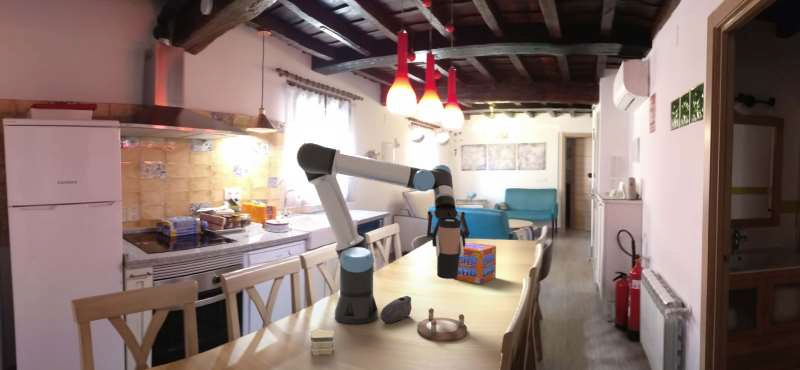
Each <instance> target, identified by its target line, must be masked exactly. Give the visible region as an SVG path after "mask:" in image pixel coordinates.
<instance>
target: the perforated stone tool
mask: <svg viewBox="0 0 800 370" xmlns="http://www.w3.org/2000/svg"><path fill="white" fill-rule="evenodd" d="M411 297H412V296H409V295H405V296H402V297H399V298H395V299H394V300H391V301H390V302H389V303H388V304H386V305H385V306H384V307H383V308H382V310H381V313H380V321H381V322H382V323H385V324H386V323H387V324H390V323H393V322H397V321H400V320H402V319H405V318H407V316H410V315H411V312H412V309H413V308H412V307H413V306H412V298H411Z"/></svg>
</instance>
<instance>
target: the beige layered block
mask: <svg viewBox="0 0 800 370" xmlns="http://www.w3.org/2000/svg"><path fill="white" fill-rule="evenodd" d="M309 332H310V337H309V338H310V343H309V345H310V349H311V350H312V355H313V356H320V355H332V354H333V351H334V347H335V342H334V340H335V335H334V334H335V331H333V330H326V329H313V330H311V331H309Z"/></svg>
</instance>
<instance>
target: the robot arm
mask: <svg viewBox="0 0 800 370" xmlns="http://www.w3.org/2000/svg"><path fill="white" fill-rule="evenodd" d="M296 161H297V165H299V167H300V169H302V171H303V172H304V174H305V177H306V179H307V181H308V183H310V184H311V185H314V187H315V190H316V193H317V196H318V197H319V200H320V203H321V206H322V208H323V211H324V213H325V216H326V218H327V221H328V224H329V226H330V228H331V231H332V234H333V235H334V238H335V241H336V246H335V248H334V249H335V252H336V255H337V257H338V260H339V296H338V297H339V298H338V301H337V302H336V303H337V304H336V306H335V308H334V309H335V310H334V319H335V320H336V321H337V322H339V323H342V324H347V325H362V324H368V323H372V322H374V321H376V319H378V317H379V309H378V305H377V303H376V300H375V295H374V263H375V257H374V253H373V251H371V249H369V247H368V246H367V243H366V239H365V237H364V236H361V235H359V233H358V230H357V228H356V225H355V223H354V220H353V218H352V215H351V213H350V210H349V207H348V204H347V203H346V199H345V197H344V195H343V192H342V190H341V186H340V185H339V181H338V179H337V174H338V175H344V176H350V177H354V178H358V179H364V180H368V181H374V182H378V183H383V184H388V185H394V186H397V187H403V188H407V189H411V190H416V191H419V192H427V191H429V190H430V191H431V190H432V191H433V200H434V211H430V210H429V211H427V215H426V217H427V220H428V221H427V229H426V238H427V239H429V238H430V239H431V242H432V244H431V245H432V247H435V255H436V257H437V256H439V253H440V250H439V239H438V228H439V218H443V217H451V218H457V217H458V218H457V219H459V220H461V225H460V257H463V254H464V250H463V247H465V244H466V243H467V242H466V239H469V236H470V233H471V232H470V230H469V227H468V223H467V221H466V217H465V216H466V215H465V214H466V212H465V211H462V212H458V210H457V208H456V200H455V193H454V184H453V176H452V171H451V169H450V167H449V166H447V165H445V164H439V165H436V166H434V167H433V168H432V169H431V170H430V169H429V170H428V169H425V168H417V167H412V166H408V165H403V164H399V163H394V162H389V161H385V160H381V159H376V158H371V157H367V156H361V155H356V154H352V153H347V152H343V151H340V149H339V148H338V147H333V146H330V145H328V144H325V143H323V142H321V141H316V140H309V141H307V142H305V143H303V144H302V145H300V147H299V149H298V150H297V153H296ZM434 217H435V218H436V219H437V222H436V225H435V227H434V229H433V232H432V225H433V224H432V222H433V218H434Z"/></svg>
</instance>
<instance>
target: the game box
mask: <svg viewBox="0 0 800 370" xmlns="http://www.w3.org/2000/svg"><path fill="white" fill-rule="evenodd" d="M465 243H466V244H465V247H463V250H464V254H463V257H460V252H459V265H458V276H457V278H454V279H453V280H459V281H463V282H467V283H472V284H478V285H481V284H484V283H486V282H489V281H491V280H493V279H495V278H497V277H496V275H497V273H496V271H497V269H496V268H497V246H496V245H494V244H493V245H492V244H485V243H479V242H470V241H467V242H465Z"/></svg>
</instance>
